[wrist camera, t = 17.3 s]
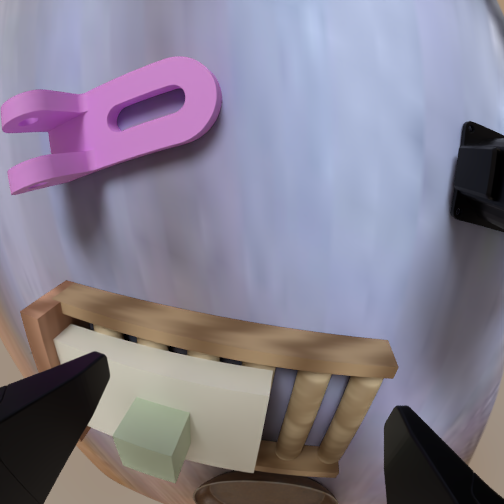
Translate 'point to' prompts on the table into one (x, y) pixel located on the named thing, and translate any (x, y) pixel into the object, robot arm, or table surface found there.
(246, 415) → the slab
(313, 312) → the table surface
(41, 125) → the bracket
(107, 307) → the roller track
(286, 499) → the plant saucer
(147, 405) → the block
